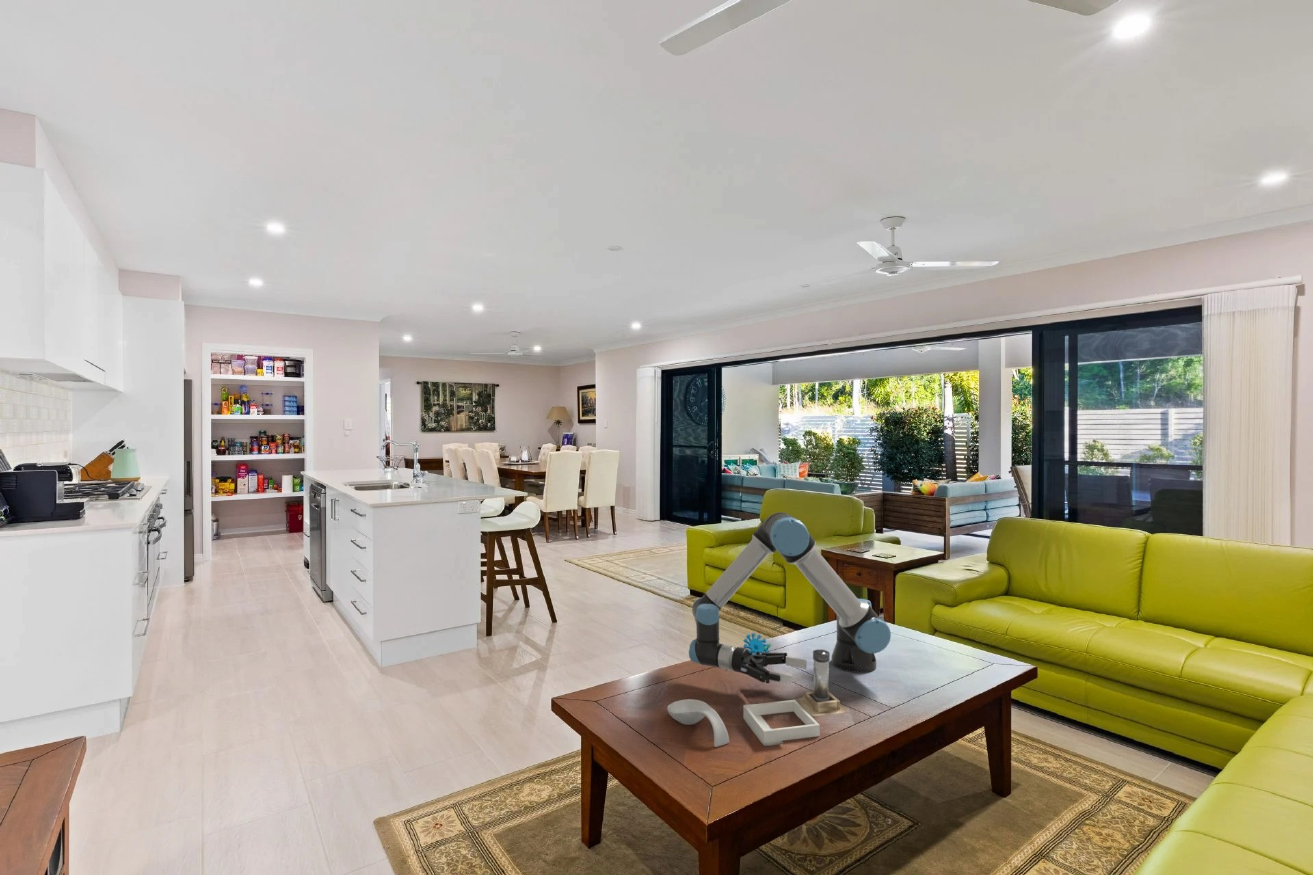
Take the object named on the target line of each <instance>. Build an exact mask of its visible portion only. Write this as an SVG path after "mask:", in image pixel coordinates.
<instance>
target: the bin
mask: <svg viewBox="0 0 1313 875" xmlns="http://www.w3.org/2000/svg"><path fill="white" fill-rule="evenodd" d="M742 706H743V711H742V713H743V720H744V722H745V723H746V724H747V726H748V727H749V728H750V730H751V731H752V732H753V734H754V735H755V736H756V738H757V739H758V740H759V741H760V743H761V744H762V745H763V747H768V746H769V747H771V746H778V745H784V744H785V743H784V741H790V740H800V739H807V738H813V737H814V738H816V737H820V735H821V730H820V728H821V726H820V724H819V722H817V720H816V719H815V718H813V716H811V715H810V714H809V713H808V712H807V711H806V710H805V709H804V708H803V707H802V706H801V705H800V704H799V703H798V702H797V701H796V700H795V699H790V700H781V701H769V702H763V703H753V704H752V703H751V704H743V705H742ZM792 712H794V714H795V715H796V716H797V717H798V718H799V720H801V722H803V723H804V724H803V725H802V724H801V725H796V726H795V725H794V726H787V727H786V726H785V727H778V728H772V726H770V725H769V723H768V722H767V721H766V719H765V718H764V717H763V716H764V715H773V714H781V713H782V714H783V713H792Z"/></svg>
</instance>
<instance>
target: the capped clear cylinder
mask: <svg viewBox="0 0 1313 875" xmlns="http://www.w3.org/2000/svg"><path fill="white" fill-rule="evenodd" d="M830 656H831V654H830V652H829V651H828V650H825V649H815V650H813V651H812V659H813V692H814V694H813V699H814V700H815V701H816V702H824V701H830V696H829V692H830V675H829V674H830V667H829V666H830Z"/></svg>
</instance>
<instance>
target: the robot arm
mask: <svg viewBox="0 0 1313 875" xmlns="http://www.w3.org/2000/svg"><path fill="white" fill-rule="evenodd" d="M751 537H752V539H751V541H750V542H749V543H747V545H746V546H745V547H744V548H743V550H742V551H741V552H740V553H739V554H738V555H737V557H736V558H735V559H734V560H733V561H732V562H731V563H730V565H729V566H728V567H727V568H725V570H724V572H722V574H721V575H720V576H719V577H718V578H717V579H716V581H714V583H713V584H712V585H711V586H710V588H709V589H708V590H707V591H706V592H705V593H704V594H703V595H702V597H698V598H697V599H695V600H694V602H693V603H692V607H691V608H692V610H691V612H692V615H693V618H694V621H695V625H696V626H695V627H696V638H695V639H693V640H692V641H691V642H690V644H689V649H688V657H689V659H690V660H691V662H693V663H695V664H700V665H702V666H709V667H713V668H718V669H723V670H725V671H726V672H727V671H733V672H736V673H739V674H740V673H741V674H744V675H747V676H749V677H751V678H753V679H755V680H757V681H759V682H761V683H764V684H765V683H766V684H770V682H771V681H772V682H777V683H780V684H781V683H782V684H786V685H792V684H793V675H792V674H790V673H785V672H780V671H775V670H770V671H769V670H767V668H766V667H768V666H770V665H771V666H772V665H785V666H789V667H793V668H799V669H804V670H806V669H807V666H808V665H807V659H804V658H798V657H793V656H788V653H787V652H770V651H769V652H765V651H764V652H756V655H752V654H751V653H750V652H749V650H750V649H749V648H744V647H739V646H735V645H729V644H724V643H720V617H721V616H720V610H721V609H723V607H724V606H725V605H726V604H727V603H728V601H729V600H730V599H731V598H732V597H733V596H734V595H735V594H736V592H737V591H738V590H739V589H740V588H741V587H742V586H743V584H744V583H745V582H747V580H748V579H749V578H750V576H751V575H753V573H754V572H755V571H756V570H757V569H758V567H759V566H760V565H761V564H762V563H763V562H764V560H766V559H767V557H768V556H769V555H773V554H775V553H776V551H777V552H778V553H779V554H780V555H781V557H782V558H783V559H784V560H785V561H786V562H787V564H790V565H795V566H796V568H798V570H799V571H800V572H801V573H802V574H803V576H804V577H805V578H806V579H807V580H808V582H809V583H810V584H811V585H812V586H813V588H814V589H815V590H816V591H817V592H818V594H819V595H820V596H821V598H823V599H824V601H825V602H826V603H827V604H828V606H829V608H831V609H832V610H833V611H834V613H835V614H836V643H835V645H834V648H833V651H832V653H831V664H832V665H833V666H834V667H835V668H837V669H839V670H843V671H845V672H851V673H866V672H872V671H874V670H876V669H877V659H876V656H875V654H878V653H880V652H883V651H884V650H885V649H886V648H887V647H888V645H889V644H890V641H891V637H892V634H891V629H890V627H889V625H888V624H887V622H886V621H885V620H884V619H881V618H880V617H879V615H878V614H877V612H875V611H874V609H873V607H872V603H871V601H870V600H868V599H865V598H858V597H857V596H856V595H855V594H854V592H853V591H852V590H851V589H850V588H849V587H848V585H847V584H846V583H845V582H844V581H843V578H841V577H840V575H838V573H837V572H836V571H835V569H833V568H832V566H831V565H830V564H829V563H828V561H827V560H826V559H825V558H824V557H823V556H822V554H821V553H820V552H819V550H817V548H816V543H817V542H816V540H815V539H814V537H813V536H812V535H811V534H810V533H809V531H808V528H807V526H806V525H805V524H804V523H803V522H802V521H801V520H799V519H797V518H795V517H793V516H792V515H790V513H787V512H779V511H778V512H775V513H772V514H770V515H769V516H768V517H767V518H765V520H764V521H763V522H762V523H761V524H760V525H759V527H758V528H757V529H756V530H755V531H754V533H752V536H751Z"/></svg>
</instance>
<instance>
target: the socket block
mask: <svg viewBox="0 0 1313 875" xmlns="http://www.w3.org/2000/svg"><path fill="white" fill-rule="evenodd" d="M813 694H814V691H806V692H803V693H802V697H798V698H794V700H795V701H796V702H797V703H798V704H799V705H800V706H801V707H802V708H803V709H804V710H805V711H806V712H807V713H808V714H809V715H810V716H811V717H820V716H828V715H829V716H830V715H838V714H846V713H847V714H848V713H850V711H849V710H848V709H847V708H846V707H845V706H844V705H842V704H841V701H840V700H839V699H838V698H837V697H835V696H834V694H832V693H831V692H830V691H829V696H830V701H824V702H816V701H815V700H814V699H813Z"/></svg>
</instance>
